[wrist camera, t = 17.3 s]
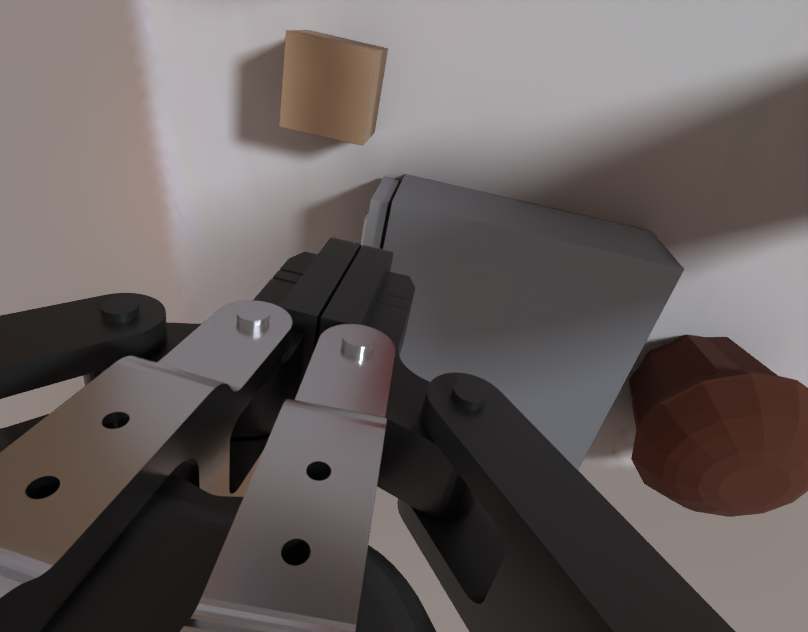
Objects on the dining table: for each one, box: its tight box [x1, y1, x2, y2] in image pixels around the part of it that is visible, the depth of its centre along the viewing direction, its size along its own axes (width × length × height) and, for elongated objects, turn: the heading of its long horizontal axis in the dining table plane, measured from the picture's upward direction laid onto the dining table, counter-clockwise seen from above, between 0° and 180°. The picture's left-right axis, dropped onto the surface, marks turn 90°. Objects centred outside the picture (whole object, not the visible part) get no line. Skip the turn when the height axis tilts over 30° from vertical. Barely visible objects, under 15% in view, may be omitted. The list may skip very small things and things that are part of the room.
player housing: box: [383, 174, 684, 470], centre depth 35 cm, size 16×16×6 cm
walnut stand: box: [279, 30, 388, 146], centre depth 29 cm, size 5×5×4 cm
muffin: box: [629, 335, 808, 516], centre depth 34 cm, size 12×11×10 cm
